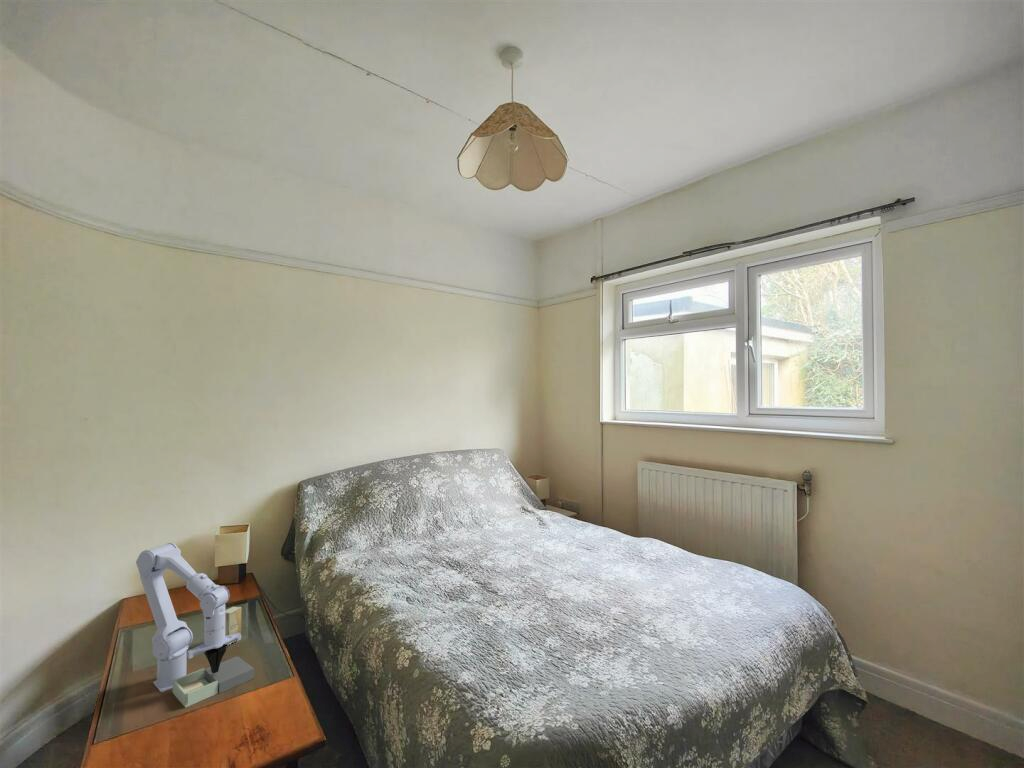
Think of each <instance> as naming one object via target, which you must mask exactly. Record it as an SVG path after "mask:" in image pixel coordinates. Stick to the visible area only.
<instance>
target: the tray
mask: <svg viewBox="0 0 1024 768" xmlns="http://www.w3.org/2000/svg"><path fill="white" fill-rule="evenodd" d="M204 669H205V668H204V667H203V668H201V669H198V670H196V671H193V672H191V673H188V674H186V675H185V676H183V677H180V678H178V679H175V680H172V688H171V690H172V694H173V695H174V696H175V697H176V699H177V700H178V701H179V702H180V703H181V704H182V706H183V707H184V708H188V707H190V706H193V705H194V704H196V703H199V702H201V701H204V700H206V699H208V698H210V697H212V696H215V695H218V694H219V693H218V681H215V682H212V683H208V682H207V681H206V680H205V679H204ZM196 680H199V681H200V682H201V683H202V684H203V687H201V688H198V689H196V690H193V691H191V692H189V693H187V692H186V691H185V690H184V689H183V688H182V687H181V686H183V685H186V684H188V683H191V682H193V681H196Z"/></svg>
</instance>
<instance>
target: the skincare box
mask: <svg viewBox="0 0 1024 768" xmlns="http://www.w3.org/2000/svg"><path fill="white" fill-rule="evenodd" d="M242 611H243V610H242V606H232V607H229V608H226V609H225V636H227V635H231V634H235V633H238V632H239V633H240V634H241V635H242ZM231 643H232V642H231ZM231 643H228V644H226V645H229V644H231Z"/></svg>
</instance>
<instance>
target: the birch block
mask: <svg viewBox="0 0 1024 768" xmlns="http://www.w3.org/2000/svg"><path fill="white" fill-rule="evenodd" d="M181 687H182V688H183V689H184V690H185V691H186V692H187V693H189V692H191V691H193V690H196V689H198V688H201V687H203V684H202V683H201V682H200V681H199V680H196V681H193V682H191V683H188V684H186V685H183V686H181Z"/></svg>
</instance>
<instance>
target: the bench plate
mask: <svg viewBox="0 0 1024 768" xmlns="http://www.w3.org/2000/svg"><path fill="white" fill-rule="evenodd" d="M204 679H205V680H206V681H207V682H208V683H212V682H215V681H218V693H217V694H222V693H223V692H226V691H229V690H230V689H233V688H235V687H237V686H240V685H242V684H244V683H247V682H250V680H253V679H255V668H254V667H253V666H251V664H249V663H248V662H246V661H244V660H243V658H241V657H239V655H237V656H234V657H232V658H229V659H226V660H225V661H221V663H220V666H219V671H218V672H216V673H214V674H213V673H212V672H211V667H210V666H209V667H206V668H204Z"/></svg>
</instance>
